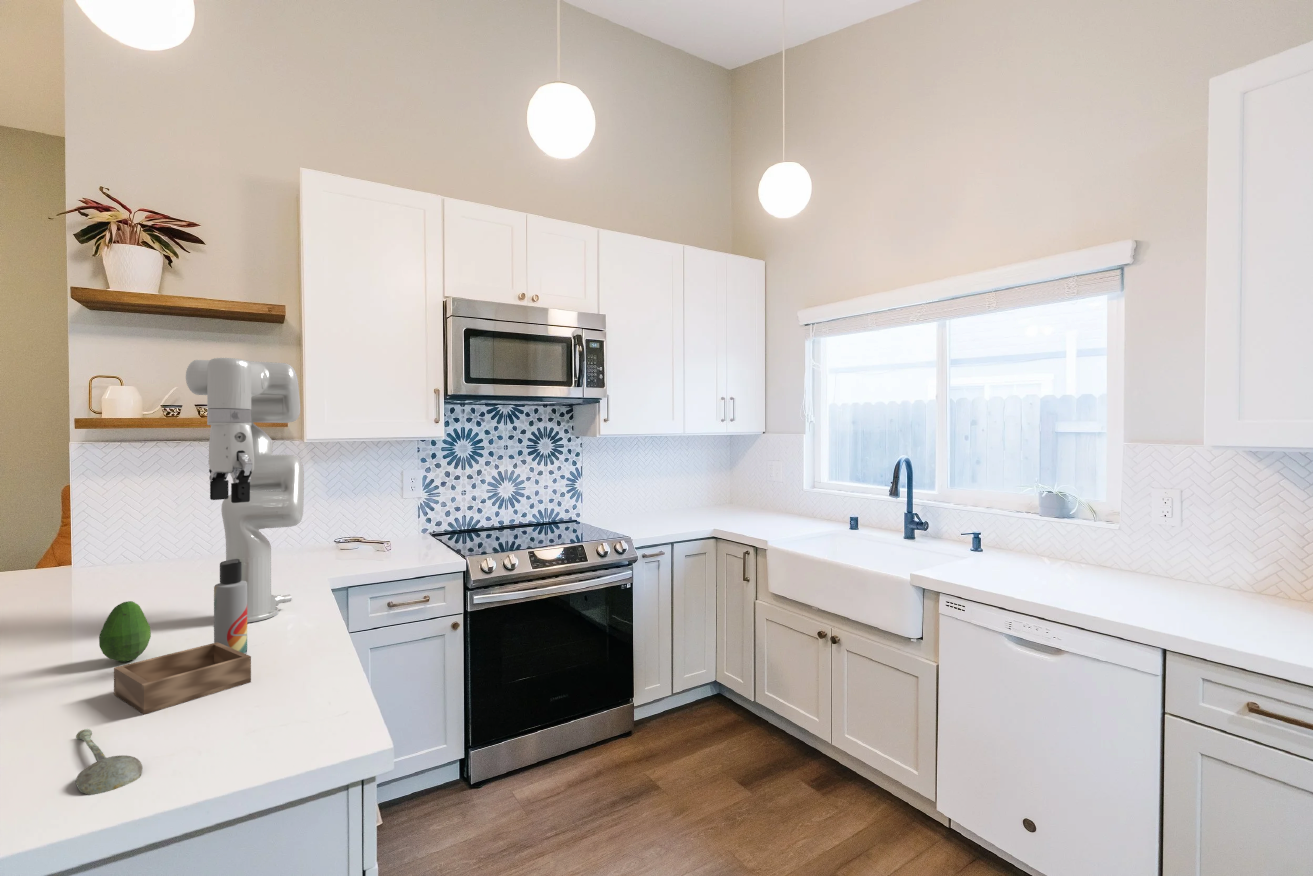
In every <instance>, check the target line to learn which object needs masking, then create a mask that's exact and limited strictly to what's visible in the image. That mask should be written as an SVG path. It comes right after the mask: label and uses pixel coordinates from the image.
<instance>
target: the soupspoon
mask: <svg viewBox="0 0 1313 876" xmlns="http://www.w3.org/2000/svg"><path fill="white" fill-rule="evenodd" d="M92 732H93V731H92V730H91V729H90V728H84V729H82V730H79V731H78V732H77V734H76V735H75V739H76V740H82V741H84V742H85V744H86V746H87V747H88V749H89V750H90V752H91V753H92V754H93V756H94V758H95V761H94V762H93V763H91V764H90V765H88V766H87V767H84V768H83V769H82V770H81V771H80V772H79V773H78V775H77V776H76V778H75V783H76V784H75V785H76V786H77V788H78V790H79V792H81V793H82V794H85V795H88V796H93V795H94V796H95V795H99V794H103V793H107V792H111V791H114V790H118V789H119V788H123V787H124V786H127V785H129V784H132V783H133V782H135V781H137V780H138V779H140V778H141V776H142V773H143V764H142V762H141V761H140V760H139V759H138V758H136V757H135V756H131V755H123V754H122V755H113V756H108V757H106V755H105V754H104V752H103V751H102V749H101V748H100V747H99V746H98V745H97V744H96V743H95V742H94V741H93V739H92V738H91V736H92V735H93V733H92Z"/></svg>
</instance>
